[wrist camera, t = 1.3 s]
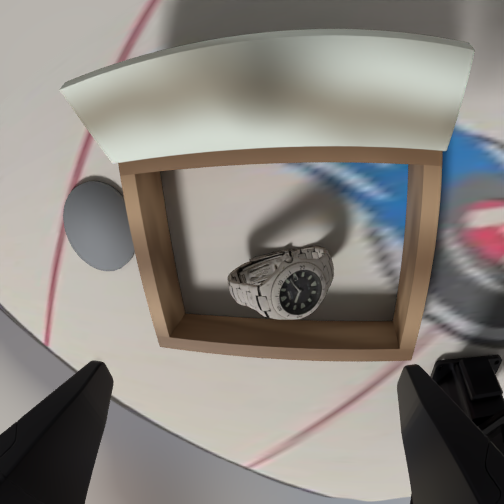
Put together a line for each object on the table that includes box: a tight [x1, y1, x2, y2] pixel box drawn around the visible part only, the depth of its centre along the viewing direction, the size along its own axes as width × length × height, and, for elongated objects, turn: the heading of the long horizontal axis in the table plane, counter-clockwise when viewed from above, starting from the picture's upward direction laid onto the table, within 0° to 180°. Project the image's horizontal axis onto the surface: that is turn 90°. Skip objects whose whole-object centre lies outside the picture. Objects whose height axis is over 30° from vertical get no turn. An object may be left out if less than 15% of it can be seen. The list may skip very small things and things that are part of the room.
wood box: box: [60, 29, 475, 361], centre depth 16 cm, size 18×17×7 cm
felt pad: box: [63, 181, 135, 271], centre depth 22 cm, size 7×7×1 cm
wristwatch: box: [228, 246, 334, 320], centre depth 18 cm, size 4×6×5 cm, turn 107°
